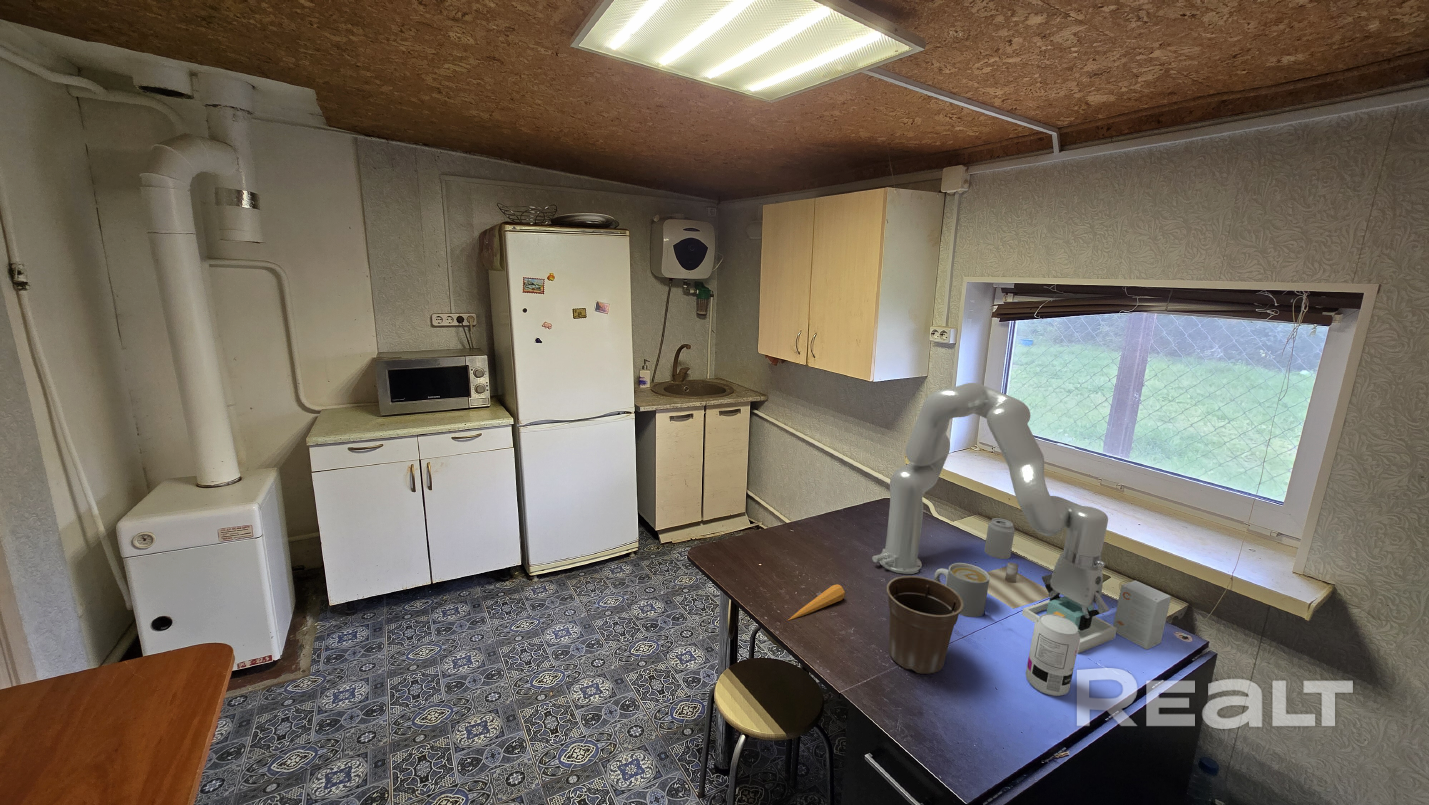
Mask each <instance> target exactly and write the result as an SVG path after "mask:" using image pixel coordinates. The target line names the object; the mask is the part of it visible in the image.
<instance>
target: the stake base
mask: <svg viewBox="0 0 1429 805" xmlns="http://www.w3.org/2000/svg"><path fill="white" fill-rule="evenodd" d="M1018 571H1019V565H1018V564H1017V563H1015V562H1011V561H1010V562H1007V565H1006V566H1003V567H1000V568H996V569H992V570H989V571H986V572H987V573H988V574H989V577H990V579H989V585H988V592H987V595H990V596H991V597H993V598H994V599H996V600H999V601H1000V602H1001V603H1003V604H1004V605H1007V606H1008V607H1009V608H1011V609H1013V610H1016V609H1017V608H1020V607H1024V606H1027V605H1030V604H1033V603H1036V602H1038V601H1042V600H1044V599H1048V598H1050V597H1049V596H1048V594H1049V593H1048V591H1047V589H1046V587H1045V586H1043V585H1042V584H1039V583H1037V582H1036V581H1034V580H1032V579H1029V577H1026V576H1024V575H1022V574H1021V573H1019V572H1018Z"/></svg>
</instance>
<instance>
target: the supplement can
mask: <svg viewBox="0 0 1429 805" xmlns="http://www.w3.org/2000/svg"><path fill="white" fill-rule="evenodd" d="M1079 641H1080V635H1079V632H1078V628H1077V626H1076V625H1075V624H1074V623H1073V622H1071V621H1070V620H1068V619H1066V618H1064V617H1062V616H1059V615H1055V614H1046V613H1043V614H1041V615H1040V618H1039V619H1037V621H1036V622H1035V623H1034V627H1033V631H1032V636H1031V642H1030V649H1029V654H1028V658H1027V664H1026V669H1025V677H1026V679H1027V681H1028V682H1029V683H1030V684H1031V686H1032V687H1033V688H1034V689H1036V690H1037V691H1039V692H1041V693H1043V694H1045V695H1049V696H1053V697H1061V696H1064V695H1066V694H1068V693H1069V691H1070V687H1071V684H1072V683H1071V682H1072V678H1073V675H1074V671H1075V670H1074V669H1075V664H1076V659H1077V655H1078V654H1077V651H1078V646H1079Z"/></svg>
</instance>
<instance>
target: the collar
mask: <svg viewBox="0 0 1429 805" xmlns="http://www.w3.org/2000/svg"><path fill="white" fill-rule="evenodd" d="M1060 597H1061V598H1058V599H1055V600H1052V601H1049V602H1048V608H1047V609H1046V613H1045V614H1055V615H1059V616H1062V617H1064V618H1066V619H1068V620H1070V621H1071V622H1073V623H1074V624H1075V625H1076V626H1077V628H1078V630H1079V624H1080V619H1081V616H1082V615H1084V614H1083V610H1082V607H1081V604H1079V603H1077V602H1075V601H1073V600H1071V599H1069V598H1067V597H1066V596H1060Z"/></svg>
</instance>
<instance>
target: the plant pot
mask: <svg viewBox="0 0 1429 805" xmlns="http://www.w3.org/2000/svg"><path fill="white" fill-rule="evenodd" d="M940 582H941V581H940ZM940 582H937V581H935V580H934V579H931V578H927V577H923V576H915V575H903V576H897V577H895V578H892V579H891V580H889V582H888V583H887V584H886V593H887V595H888V597H887V598H888V599H887V602H888V608H889V620H888V621H889V623H888V624H889V626H888V627H889V628H888V630H889V631H888V654H889V655H890V657H891V659H893V661H894V662H895V663H897V665H898V666H901V667H902V668H903V669H906V670H912V671H915V673H917V674H924V675H925V674H926V675H928V674H936V673H937V672H939V671H941V670H942V668H944V665H945V661H946V657H947V653H948V650H949V646H950V642H951V638H952V635H953V631H954V628H955V625H956V624H957V622H958V618H959V615H960V614H959V613H960V612H961V611H962V609H963V600H962V598H961V597H960V596H959V594H958V593H957V592H955V591H954V590H953V589H951V588H950V587H948V586H946V585H944V584H945V583H942V582H941V583H940Z"/></svg>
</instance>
